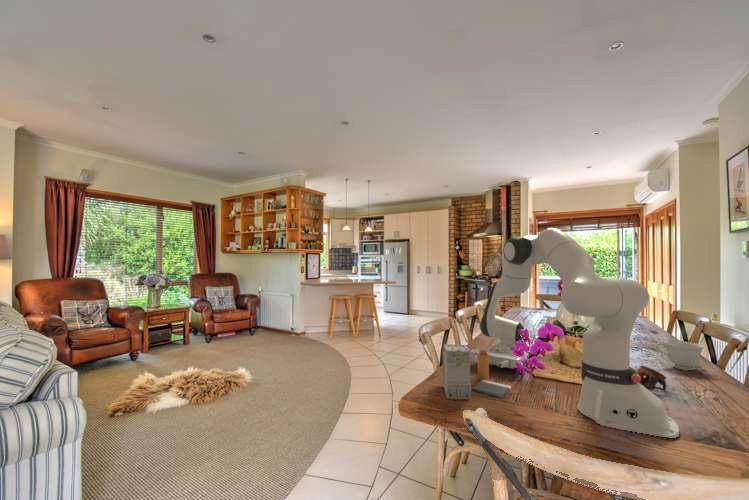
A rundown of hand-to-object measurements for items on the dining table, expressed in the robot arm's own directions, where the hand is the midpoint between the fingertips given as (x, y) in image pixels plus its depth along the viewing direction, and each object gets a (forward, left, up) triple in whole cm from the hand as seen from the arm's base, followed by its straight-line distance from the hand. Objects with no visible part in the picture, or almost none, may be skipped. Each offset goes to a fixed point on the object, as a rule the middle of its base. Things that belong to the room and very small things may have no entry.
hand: (487, 362), depth 126 cm
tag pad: (-6, +12, -5) cm, 14 cm away
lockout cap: (0, +4, -5) cm, 7 cm away
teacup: (-57, -59, -5) cm, 83 cm away
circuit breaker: (+4, +20, -5) cm, 21 cm away
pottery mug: (-47, -23, -5) cm, 53 cm away
